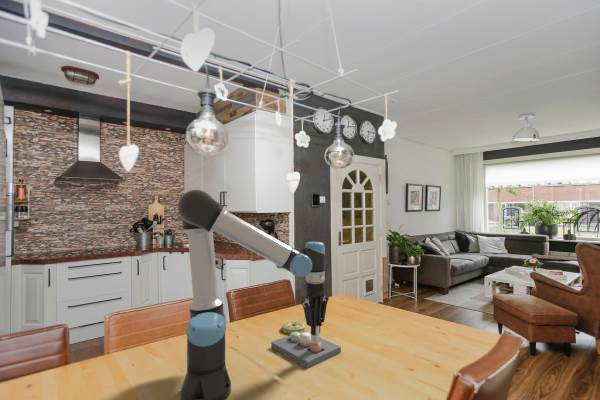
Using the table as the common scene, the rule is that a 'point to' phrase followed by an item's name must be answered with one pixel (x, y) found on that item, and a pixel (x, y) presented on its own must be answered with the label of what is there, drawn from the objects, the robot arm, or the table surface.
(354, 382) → the table surface
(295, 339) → the sage button
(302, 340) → the white egg
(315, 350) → the terracotta button
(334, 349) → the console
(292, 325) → the decorated donut
